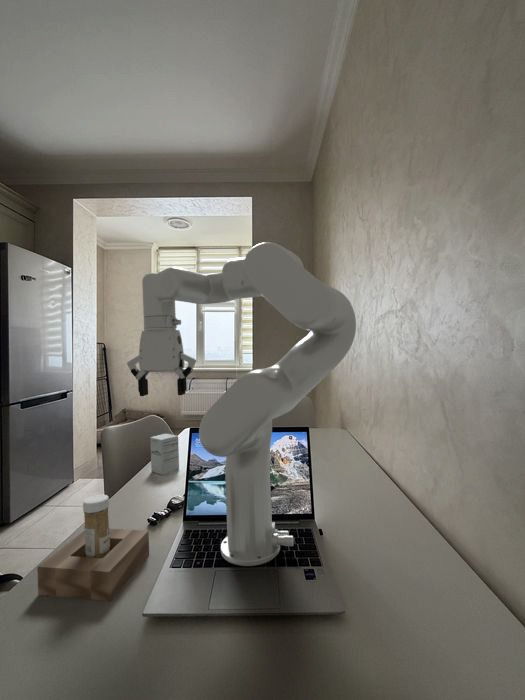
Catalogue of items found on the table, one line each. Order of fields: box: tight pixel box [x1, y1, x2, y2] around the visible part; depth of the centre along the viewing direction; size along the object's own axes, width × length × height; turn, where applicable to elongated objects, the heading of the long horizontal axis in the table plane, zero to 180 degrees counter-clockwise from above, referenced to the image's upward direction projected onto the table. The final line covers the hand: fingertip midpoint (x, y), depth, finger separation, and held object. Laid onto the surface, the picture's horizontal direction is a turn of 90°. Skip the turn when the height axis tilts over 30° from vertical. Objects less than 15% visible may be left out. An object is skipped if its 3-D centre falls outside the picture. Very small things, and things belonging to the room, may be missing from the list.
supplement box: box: [150, 433, 180, 476], centre depth 128 cm, size 7×7×13 cm
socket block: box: [36, 528, 150, 602], centre depth 69 cm, size 14×14×5 cm
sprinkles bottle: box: [82, 494, 110, 558], centre depth 69 cm, size 5×5×14 cm
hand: (162, 395), depth 86 cm, fingers open, 9 cm apart
